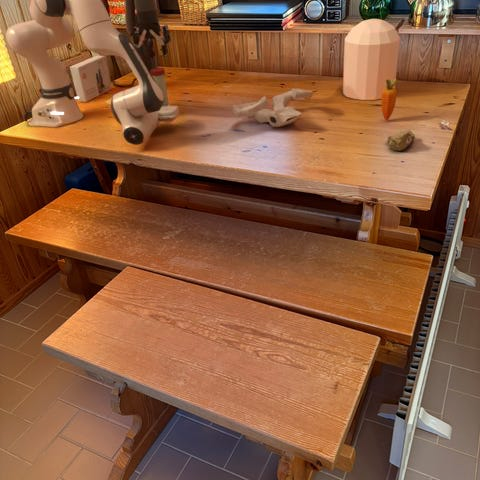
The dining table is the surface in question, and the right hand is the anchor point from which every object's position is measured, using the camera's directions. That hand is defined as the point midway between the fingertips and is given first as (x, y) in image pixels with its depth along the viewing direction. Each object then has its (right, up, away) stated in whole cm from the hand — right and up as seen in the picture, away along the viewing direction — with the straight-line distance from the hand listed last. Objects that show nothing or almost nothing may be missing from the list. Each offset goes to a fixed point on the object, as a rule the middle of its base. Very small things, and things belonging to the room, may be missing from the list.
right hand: (154, 55), depth 177 cm
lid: (0, -5, +3) cm, 6 cm away
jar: (+2, -19, +14) cm, 24 cm away
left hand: (0, -18, +4) cm, 19 cm away
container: (+86, -9, +16) cm, 88 cm away
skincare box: (-36, -1, +46) cm, 58 cm away
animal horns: (+47, -28, -5) cm, 55 cm away
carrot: (+85, -28, -11) cm, 91 cm away
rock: (+84, -41, -29) cm, 98 cm away
